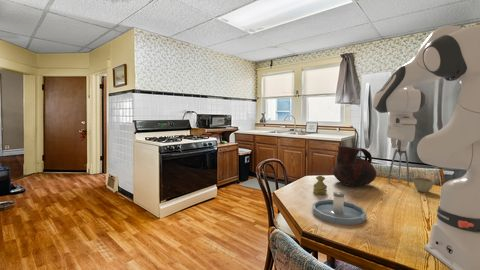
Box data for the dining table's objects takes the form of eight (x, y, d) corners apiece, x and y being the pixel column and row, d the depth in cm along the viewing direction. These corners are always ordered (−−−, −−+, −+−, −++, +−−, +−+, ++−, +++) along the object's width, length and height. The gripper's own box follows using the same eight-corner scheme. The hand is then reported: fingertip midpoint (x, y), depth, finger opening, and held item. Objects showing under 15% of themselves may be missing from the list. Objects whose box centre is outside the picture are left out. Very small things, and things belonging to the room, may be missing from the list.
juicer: (388, 182, 160) (391, 137, 157) (398, 180, 164) (401, 137, 162) (403, 186, 151) (406, 139, 148) (414, 184, 156) (417, 138, 153)
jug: (384, 190, 144) (387, 148, 141) (343, 190, 142) (345, 148, 140) (361, 178, 169) (363, 143, 166) (326, 179, 167) (327, 143, 165)
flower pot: (437, 194, 137) (438, 182, 136) (417, 193, 139) (418, 181, 138) (427, 189, 147) (428, 177, 146) (408, 188, 149) (409, 176, 148)
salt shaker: (317, 195, 134) (318, 178, 133) (310, 191, 141) (311, 174, 140) (329, 194, 135) (330, 177, 135) (321, 190, 143) (322, 173, 142)
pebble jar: (344, 214, 107) (345, 195, 106) (333, 213, 108) (334, 194, 107) (342, 210, 111) (343, 192, 111) (331, 209, 112) (332, 191, 112)
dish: (372, 227, 97) (372, 221, 96) (314, 221, 101) (315, 215, 101) (357, 206, 118) (358, 201, 118) (311, 202, 123) (311, 197, 123)
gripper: (384, 118, 121) (382, 146, 123) (402, 120, 102) (399, 152, 103) (398, 119, 120) (396, 146, 121) (419, 120, 100) (416, 153, 102)
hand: (398, 149), depth 112 cm, fingers open, 8 cm apart
